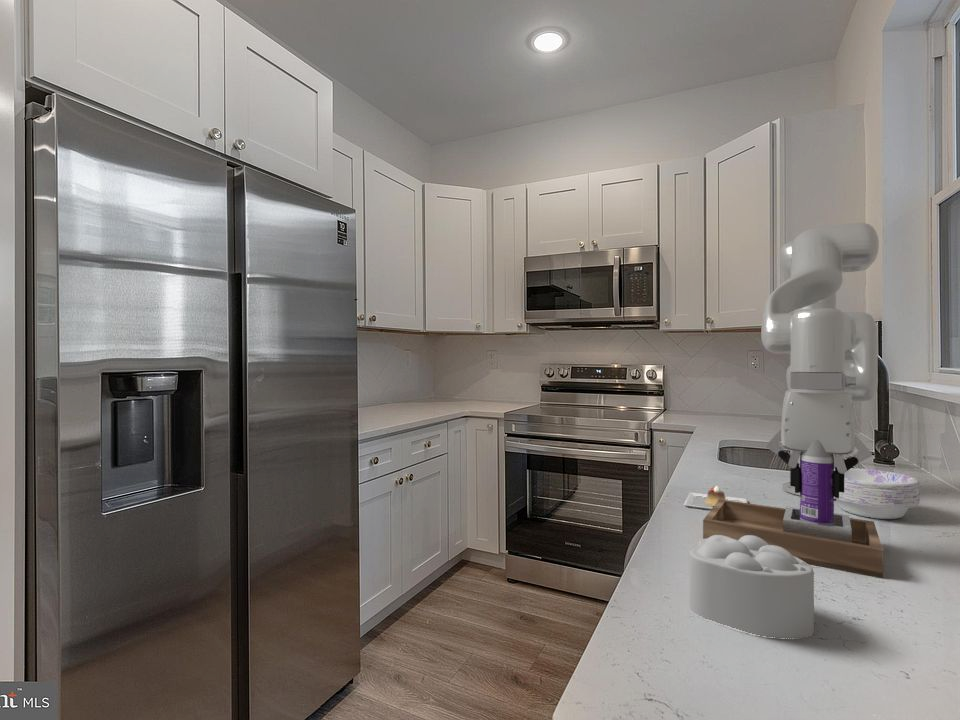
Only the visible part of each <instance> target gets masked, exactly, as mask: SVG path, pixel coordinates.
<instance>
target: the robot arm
mask: <svg viewBox="0 0 960 720" xmlns="http://www.w3.org/2000/svg"><path fill="white" fill-rule="evenodd" d="M879 241H880V240H879V237H878V233H877V231H876V229H875V228H874V226H873V225H871V224H870V223H866V222H854V223H847V224H846V223H845V224H838V225H826V226H819V227H813V228H810V229H806V230H803V231H802V232H801V233H799V234H798V235H797V236H796V237H795V238H794V239H793V240H790V241H788V242H786V243H784V244H783V245H782V246H781V247H780V249H779V263H780V268H781V271H782V274H783V276H784V278H785V281H784V282H782V283H781V284H780V285H778V286H777V287H776V288H775V289H774V290H773V291H772V292H771V293H770V294H769V295H768V297H767V298H766V300H765V303H764V306H763V309H762V318H761V319H762V320H761V333H760V334H761V335H760V337H761V338H760V339H761V342H762V345H763V347H764V349H765V350H766V351H768V352H769V353H772V354H775V355H790V359H789V360H790V365H789V366H788V367H787V369H786V371H785V372H786V374H785V378H786V379H785V381H786V385H787V390H785V393H784V397H783V403H782V409H781V425H780V430H778V431H777V432H776V434H775V435H774V436H773V437H772V438H771V439H770V440H769V441H768V442H767V444H766V448H767V449H768V450H770V451H771V452H772V453H774V454H776V455H777V456H778V457H779V458H780V459H781V460H782V461H783V462H784V463H785V464H786V465H788V468H789V472H790V473H789V475H790V476H789V478H790V479H789V481H787V482H783V484H782V490H784V491H785V492H786V493H789V494H792V495H796V496H799V497H800V453H801V451H807V450H808V449H809V447H810V445H811V443H812V442H813V441H814V440H819V441H820V442H821V444H822V445H823V447H824V449H825V452H827V453H829V454H833V457H834V469H835V471H834V497H835V498H834V500H836V498H839V492H843V493H844V473H846V472H847V471H848V470H849V469H851V468H855V466H856V465H858V464H859V463H862V462H863V461H866V460H868V459H869V458H871V457H873V454H872V451H871V450H870V449H869V448H868V447H867V446H866V445H865V443H864V442H863V441H862V440H861V438H859V436H857V434H856V427H855V412H854V405H853V402H866V401H867V402H868V401H871V400H872V399H874V398H875V396H876V394H877V393H878V392H877V391H878V387H879V386H878V383H879V377H878V376H879V373H878V369H879V367H878V365H879V363H878V362H879V361H878V360H879V359H878V358H879V357H878V355H879V353H878V330H877V329H878V328H877V322H876V321H875V319H874V317H873V316H872V315H871V314H869V313H867V312H864V311H863V312H862V311H861V312H860V311H849V312H848V311H847V312H846V311H845V312H844V311H842V310H840V309H837V292H838V291H839V290H840V289H841V287H842V284H843V273H855V272H861V271H862V272H863V271H865V270H867V269H869V268H870V267H871V265H872V264H873V263H875V261H876V259H877V257H878V253H879V247H880V243H879ZM846 355H849V356H851V357H852V359H846ZM780 442H781V446H782V447H783V448H784V449H783V448H782V447H781V446H780V445H779V444H780ZM785 449H787V450H790V451H789V453H788V451H787V450H785ZM855 449H856V450H857V453H854V454H852V453H853V452H854V451H855ZM849 454H852V455H851V456H849V457H847V458H846V459H844V456H843V455H849Z"/></svg>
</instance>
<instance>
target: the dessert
mask: <svg viewBox="0 0 960 720" xmlns="http://www.w3.org/2000/svg"><path fill="white" fill-rule="evenodd" d="M694 496H695V497H696V496H702V497H701V498H704V497H707V498H706V499H705V502H704V504H705V505H706V504H707V505H706V506H707V507H706V506H700V505H693V501H694V500H693V498H694V499H695V497H694ZM719 499H722V500H726V499H728V500H739V501H742V502H743V503H748V498H744V497H737V496H736V497H735V496H734V497H733V496H726V495H725V492H724V491H722V490H721V488H720V487H719V486H718V485H716V486H715V487H711V488H710V490H708V491H707V493H702V492H701V493H700V492H691V491H689V493H688V494H687V497H686V499H685V501H684V503H683V506H685V507H687V508H693V509H700V510H707V509H708V511H710V510H711V509H712V508H713V506H714V505H715V504H716V503H717V501H718V500H719ZM709 505H710V506H709ZM708 506H709V507H708Z"/></svg>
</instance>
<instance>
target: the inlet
mask: <svg viewBox="0 0 960 720" xmlns="http://www.w3.org/2000/svg"><path fill="white" fill-rule="evenodd" d="M785 509H786V510H785V514H784V518H783V531H784V532H790V533H796V534H802V535H808V536H814V537H820V538H826V539H832V540H838V541H844V542H850V543H852V529H851V523H850V518H851V517H850V515H848V514H842V513H835V512H834V525H827V524H820V523H814V522H807V521H801V520H800V507H793V506H785Z"/></svg>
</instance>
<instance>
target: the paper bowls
mask: <svg viewBox="0 0 960 720" xmlns="http://www.w3.org/2000/svg"><path fill="white" fill-rule="evenodd" d="M834 471H835V469H834ZM920 485H921V484H920V480H918V479H917V478H916V477H913V476H911V475H907V474H904V473H903V474H902V473H898V472H892V471H887V470H879V469H871V468H870V469H869V468H857V467H856V468H855V467H852V468H851V469H849V470H848V471H847V472H846V473H844V493H843V492H839V498H836V499H835V500H836V502H837V503H838V505H839V507H840V508H841V509H842V510H843V511H845V512H846V513H849V514H852V515H855V516H859V517H864V518H865V517H866V518H869V517H870V518H871V519H879V520H897V519H900V518H902V517H904V516H905V514H906V513H907V512H908V510H909V509H910V508H916V507H919V506H920V501H921V500H920V498H921V496H920V495H921V493H920ZM834 498H835V497H834Z"/></svg>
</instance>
